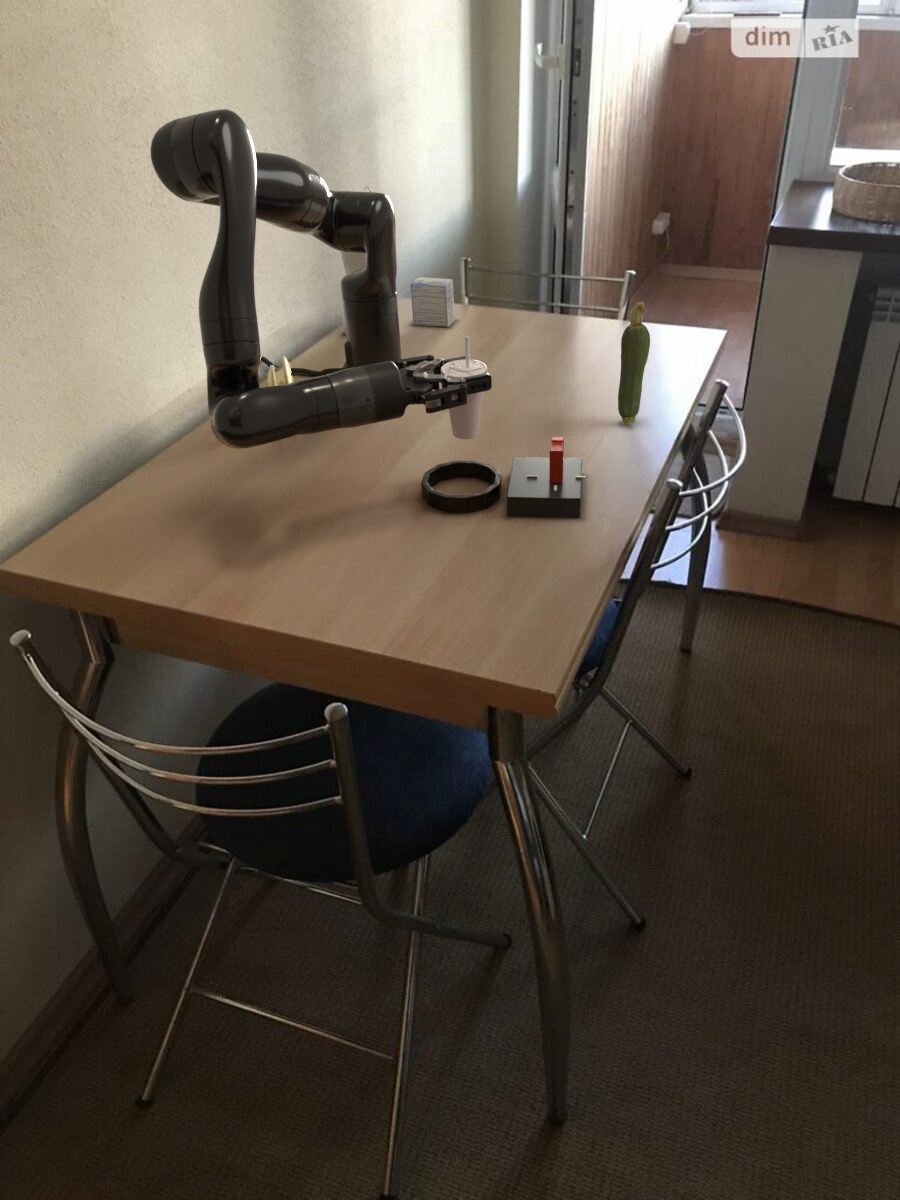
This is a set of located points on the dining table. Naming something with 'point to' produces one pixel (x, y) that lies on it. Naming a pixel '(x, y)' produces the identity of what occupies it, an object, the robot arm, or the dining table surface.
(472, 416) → the smoothie
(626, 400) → the vegetable
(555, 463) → the knob
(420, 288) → the grey striped block
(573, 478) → the panel
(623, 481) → the dining table surface
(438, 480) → the ring
